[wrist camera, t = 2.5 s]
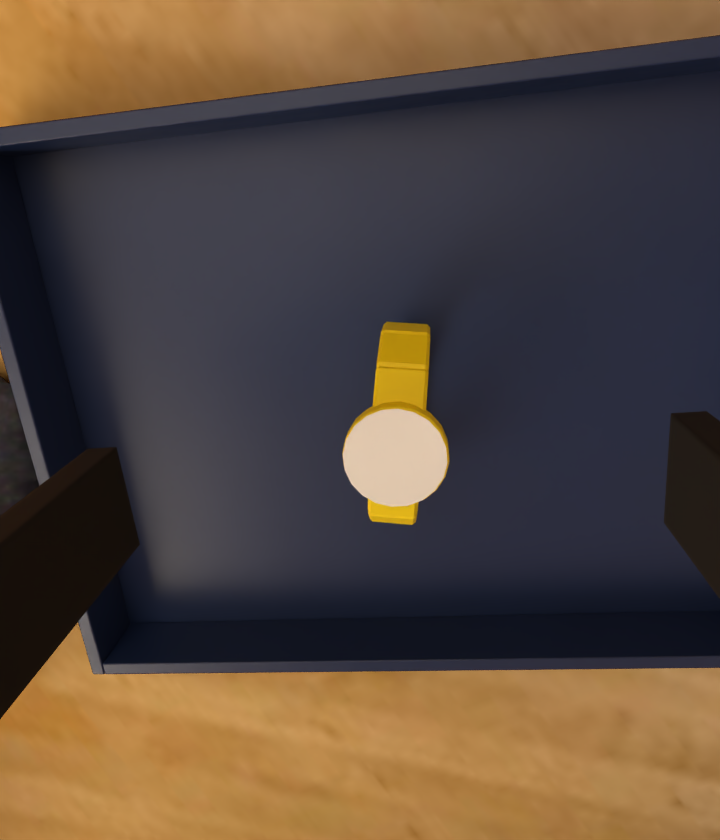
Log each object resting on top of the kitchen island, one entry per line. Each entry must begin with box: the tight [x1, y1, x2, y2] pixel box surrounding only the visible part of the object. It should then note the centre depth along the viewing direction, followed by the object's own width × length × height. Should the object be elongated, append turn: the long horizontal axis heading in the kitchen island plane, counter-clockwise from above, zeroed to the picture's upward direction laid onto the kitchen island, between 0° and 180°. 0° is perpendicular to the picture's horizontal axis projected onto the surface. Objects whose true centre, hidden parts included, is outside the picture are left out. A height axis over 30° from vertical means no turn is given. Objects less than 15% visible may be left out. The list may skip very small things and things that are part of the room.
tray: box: [0, 35, 720, 674], centre depth 21 cm, size 25×19×3 cm
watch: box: [343, 322, 449, 525], centre depth 19 cm, size 6×3×6 cm, turn 177°
